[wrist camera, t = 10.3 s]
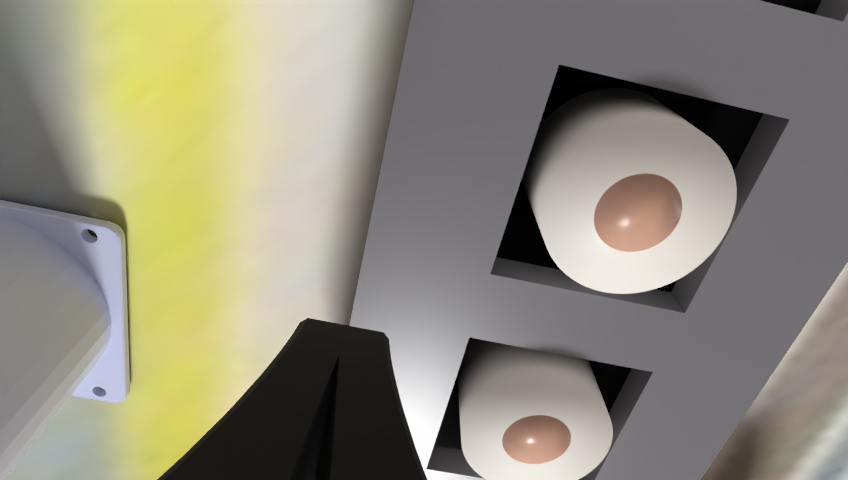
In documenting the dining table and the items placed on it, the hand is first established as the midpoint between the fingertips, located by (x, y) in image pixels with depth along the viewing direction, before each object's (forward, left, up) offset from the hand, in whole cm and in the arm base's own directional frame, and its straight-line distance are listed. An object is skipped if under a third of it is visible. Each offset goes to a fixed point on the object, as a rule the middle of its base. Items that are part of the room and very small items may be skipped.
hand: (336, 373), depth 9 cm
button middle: (+6, +2, -8) cm, 10 cm away
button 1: (+6, -5, -8) cm, 11 cm away
